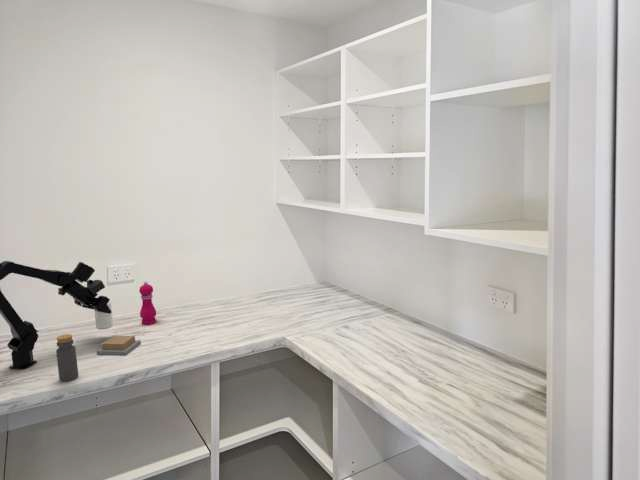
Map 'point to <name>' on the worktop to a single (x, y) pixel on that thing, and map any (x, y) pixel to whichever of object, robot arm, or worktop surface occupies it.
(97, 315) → the can
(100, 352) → the plinth
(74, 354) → the bottle
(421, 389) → the worktop surface
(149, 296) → the pepper mill
